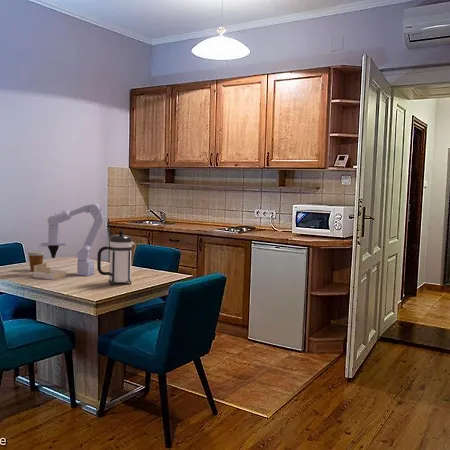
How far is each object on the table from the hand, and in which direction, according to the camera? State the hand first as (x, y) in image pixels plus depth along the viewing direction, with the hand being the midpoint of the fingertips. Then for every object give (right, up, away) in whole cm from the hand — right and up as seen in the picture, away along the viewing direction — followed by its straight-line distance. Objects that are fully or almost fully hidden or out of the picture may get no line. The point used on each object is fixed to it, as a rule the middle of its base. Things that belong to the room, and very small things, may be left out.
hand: (53, 257), depth 294 cm
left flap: (-1, -6, -14) cm, 15 cm away
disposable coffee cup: (-14, -9, +10) cm, 19 cm away
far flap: (-5, -5, -6) cm, 10 cm away
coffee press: (+43, -13, -19) cm, 49 cm away
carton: (+1, -11, -8) cm, 13 cm away
